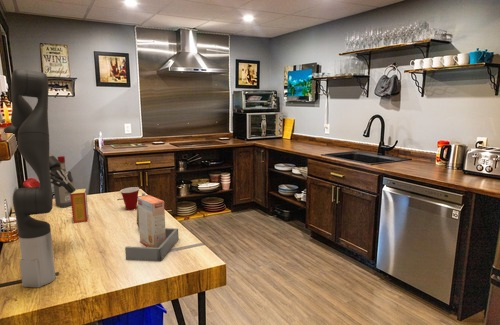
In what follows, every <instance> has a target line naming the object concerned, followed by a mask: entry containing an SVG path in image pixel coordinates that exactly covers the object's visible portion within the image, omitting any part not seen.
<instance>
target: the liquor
mask: <svg viewBox="0 0 500 325" xmlns="http://www.w3.org/2000/svg"><path fill="white" fill-rule="evenodd" d="M57 160H58V161H59V162H60V163H61V165H60V167H61V168H62V169H64V171H65V172H67V170H66V163H65V162H66V158H65V155H63V156H61V155H60V156H57ZM74 183H75V182H74V178H73V177H72V182H71V183H70V184H71V185H72V186H73V187H74V188H75V186H74V185H75V184H74ZM53 190H54V191H53V192H54V202H55V206H56V207H58V208H62V209H63V208H68V207H72V204H71V194H70V193H69V192H68V191H67V190H66V189H65V188H64V187H62V186H61V187H58V186H56V185H54V184H53Z"/></svg>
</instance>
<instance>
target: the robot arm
mask: <svg viewBox="0 0 500 325" xmlns="http://www.w3.org/2000/svg"><path fill="white" fill-rule="evenodd" d="M10 78H11V80H10V96H11V98H10V99H11V107H12V108H11V114H10V115H11V116H10V123H11V125H7V126H5V127H4V129H3V133H4V132H5V133H13V134H15V137H16V141H17V145H18V146H17V145H16V146H17V149H18V152H19V153H20V155H21V157H22V158H23V159H24V161H26V163H27V164H28V165H29V166H30V168H32V170H33V171H34V173H35V174H36V176H37V179H38V182H39V186H31V187H20V188H16V189H15V190H14V192H13V194H12V205H13V209H14V210H13V211H14V214H15V215H14V216H15V220H16V227H17V231H18V240H19V248H20V257H21V259H20V260H19V267H20V268H19V269H20V276H21V283H22V287H24V288H26V287H27V288H42V287H43V286H45V285H48V284H50V283H51V282H53V281H55V279H56V269H55V258H54V249H53V240H52V230H51V224H50V223H49V222H48V221H44V220H39V219H36V218H34V217H32V216H35V215H42V214H49V213H51V211H52V209H53V205H54V204H53V202H54V201H53V199H54V198H53V190H52V185H53V186H54V185H56V186H58V187H61V186H62V187H64V188H65V189H66V190H67V191H68V192H69V193H70V194H71V193H73V192H74V191H75V190H76V188H75V186H74V187H73V186H72V185H71V184H70V183H71V182H72V178H73V175H72V173H71V171H66V172H65V171H64V169H62V168H61V167H60V165H61V163H60V162H59V161H58V158H56V156H55V155H54V154H53V153H52V152H51V150H50V129H49V128H50V127H49V117H48V116H49V113H48V111H49V78H48V76H47V74H46V72H45V73H44V72H41V71H34V70H29V69H28V70H27V69H22V68H21V69H20V68H19V69H18V68H16V69H14V70H13V71H12V74H11V77H10ZM25 97H29V98H35V99H37V101H36V105H35V106H34V108H32V106H31V104H30V103H29V102H28V101H27V99H25Z"/></svg>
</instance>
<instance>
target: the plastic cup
mask: <svg viewBox="0 0 500 325" xmlns="http://www.w3.org/2000/svg"><path fill="white" fill-rule="evenodd" d="M139 191H140V187H139V186H137V187H136V186H135V187H134V186H133V187H132V186H131V187H125V188H123V189H121V190H119V192H120V194H121V196H122V198H123V203H124V205H125V206H124V207H125V209H127V210H126V211H135V210H137V206H138V197H139ZM134 209H135V210H134Z"/></svg>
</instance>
